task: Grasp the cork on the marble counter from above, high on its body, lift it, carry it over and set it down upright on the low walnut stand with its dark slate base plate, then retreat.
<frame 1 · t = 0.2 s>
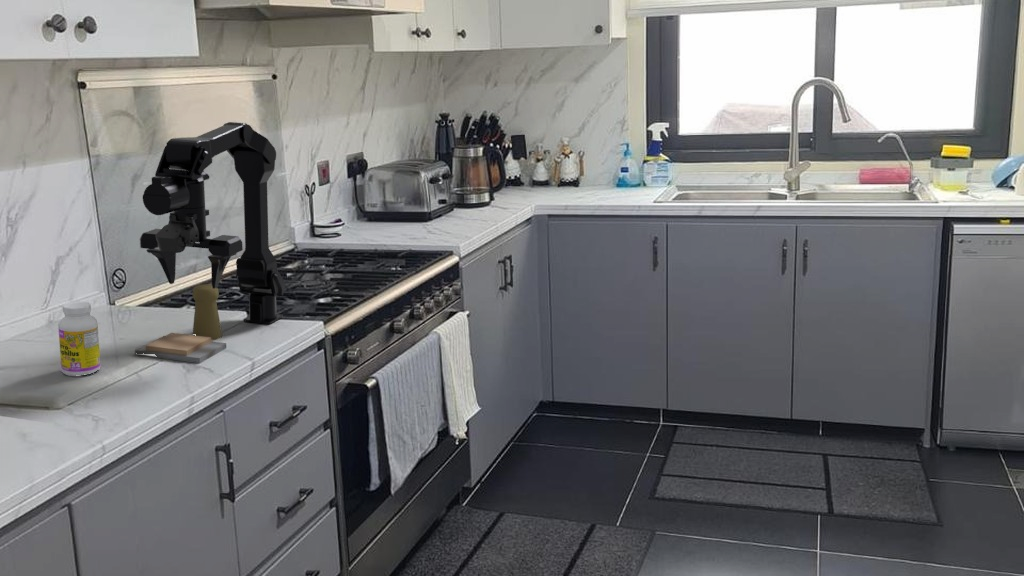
hand: (193, 285, 189), 14 cm above the worktop, tool pointing down, fingers open, 9 cm apart
supplement bottle: (81, 372, 182), on the worktop
cork: (207, 337, 205), on the worktop
stand: (181, 351, 195), on the worktop
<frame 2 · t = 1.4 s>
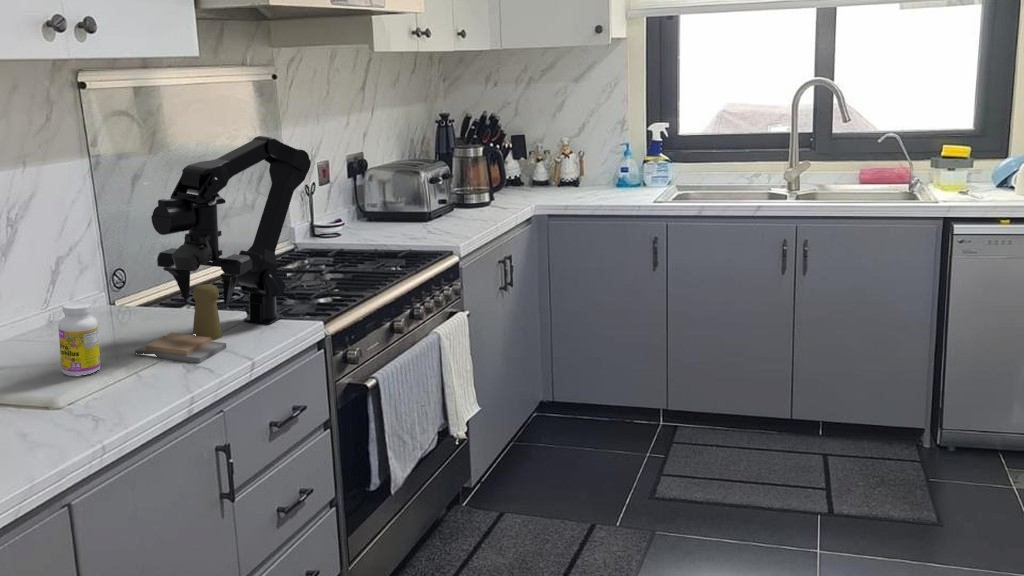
hand: (206, 301, 203), 7 cm above the worktop, tool pointing down, fingers open, 9 cm apart
nothing on the worktop moved.
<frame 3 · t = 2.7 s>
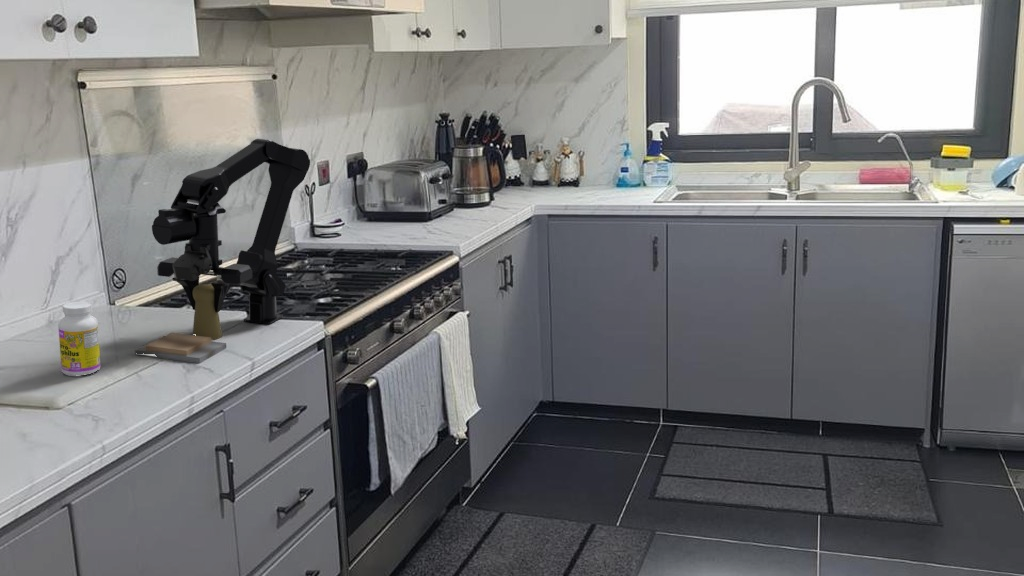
hand: (206, 310, 204), 6 cm above the worktop, tool pointing down, fingers closed on cork, 5 cm apart
cork: (207, 337, 205), on the worktop, touching gripper
everything else where it was.
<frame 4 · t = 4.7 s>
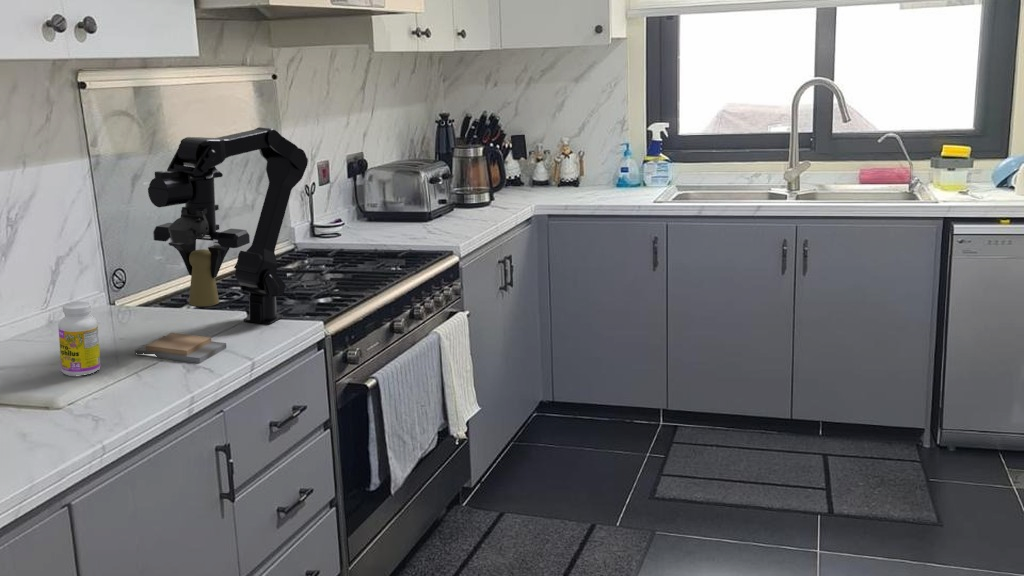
hand: (203, 276, 201), 13 cm above the worktop, tool pointing down, fingers closed on cork, 5 cm apart
cork: (204, 303, 202), point 7 cm above the worktop, touching gripper
everything else where it was.
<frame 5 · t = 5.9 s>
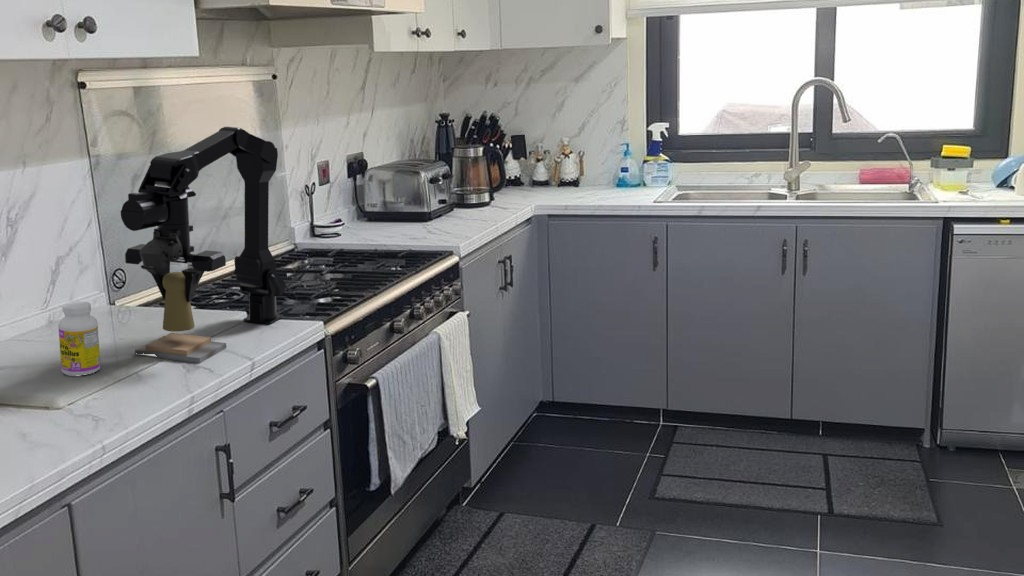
hand: (177, 300, 192), 10 cm above the worktop, tool pointing down, fingers closed on cork, 5 cm apart
cork: (178, 328, 194), point 5 cm above the worktop, touching gripper
everything else where it was.
when the fingers open (9 cm above the worktop, at t = 6.9 s): cork drops 1 cm, resting on stand.
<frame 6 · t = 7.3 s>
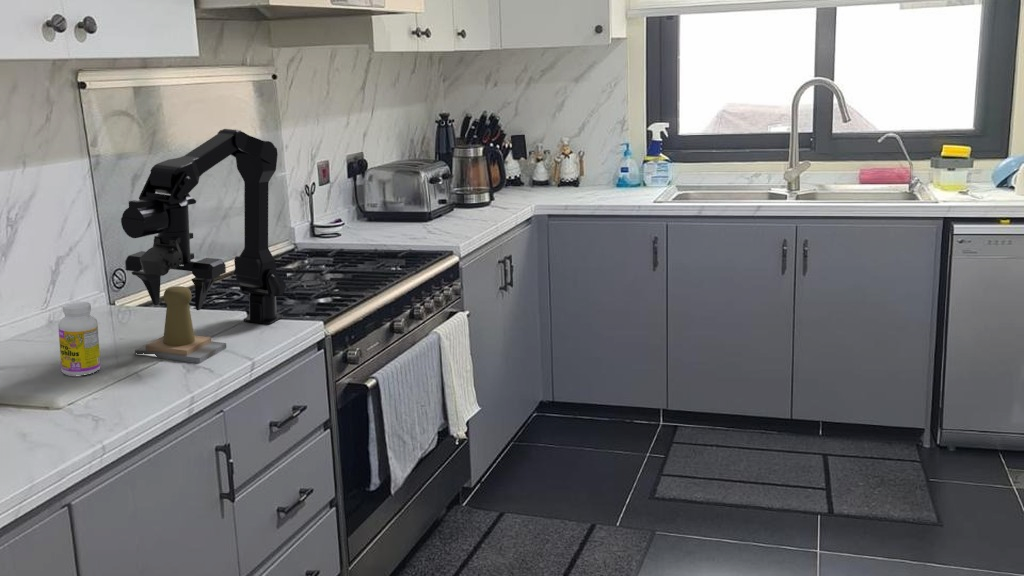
hand: (177, 307, 193), 9 cm above the worktop, tool pointing down, fingers open, 9 cm apart
cork: (179, 341, 195), point 2 cm above the worktop, touching stand
everything else where it was.
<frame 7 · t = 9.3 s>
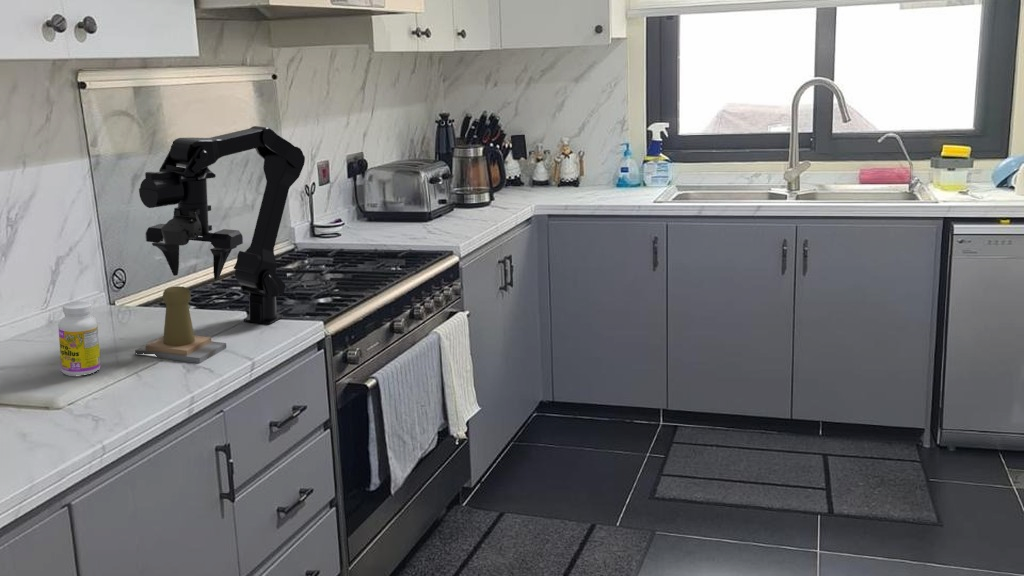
hand: (196, 277, 200), 13 cm above the worktop, tool pointing down, fingers open, 9 cm apart
nothing on the worktop moved.
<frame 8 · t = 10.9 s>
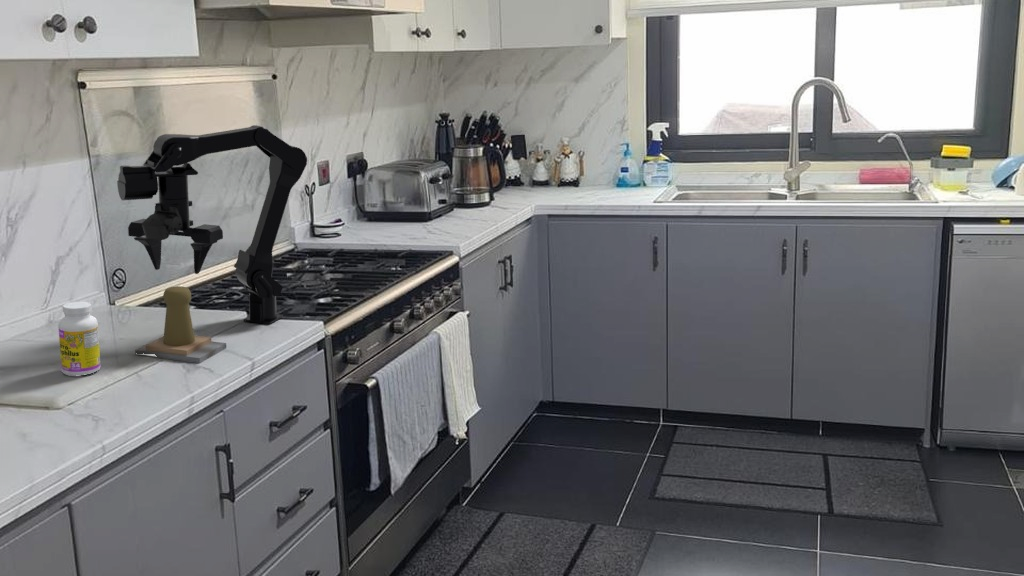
hand: (177, 271, 204), 13 cm above the worktop, tool pointing down, fingers open, 9 cm apart
nothing on the worktop moved.
at the end: cork 0.1 cm off-centre on the stand, point 1.8 cm above the stand's base; cork tilted 0°; the gripper is holding nothing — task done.
